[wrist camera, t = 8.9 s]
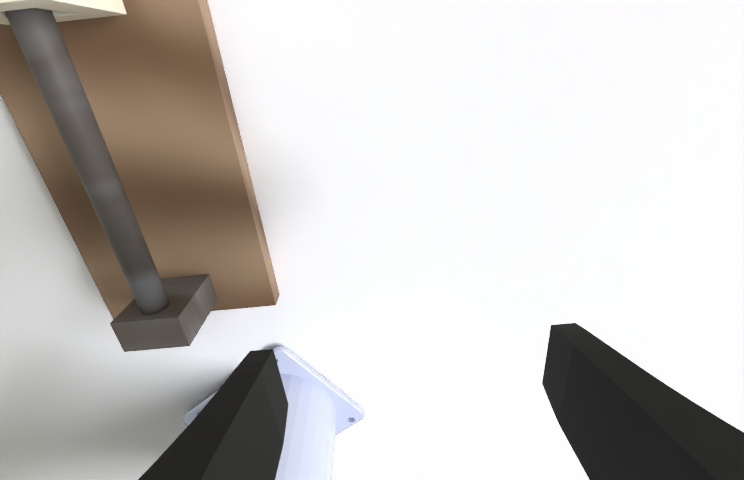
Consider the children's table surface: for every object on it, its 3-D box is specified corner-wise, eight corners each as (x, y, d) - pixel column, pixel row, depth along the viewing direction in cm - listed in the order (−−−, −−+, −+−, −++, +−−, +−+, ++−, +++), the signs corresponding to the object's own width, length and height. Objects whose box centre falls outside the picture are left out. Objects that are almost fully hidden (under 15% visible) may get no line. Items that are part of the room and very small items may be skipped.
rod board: (279, 294, 21) (255, 361, 16) (124, 308, 21) (56, 379, 17) (93, -464, 10) (-139, -913, 5) (-223, -421, 10) (-708, -818, 6)
